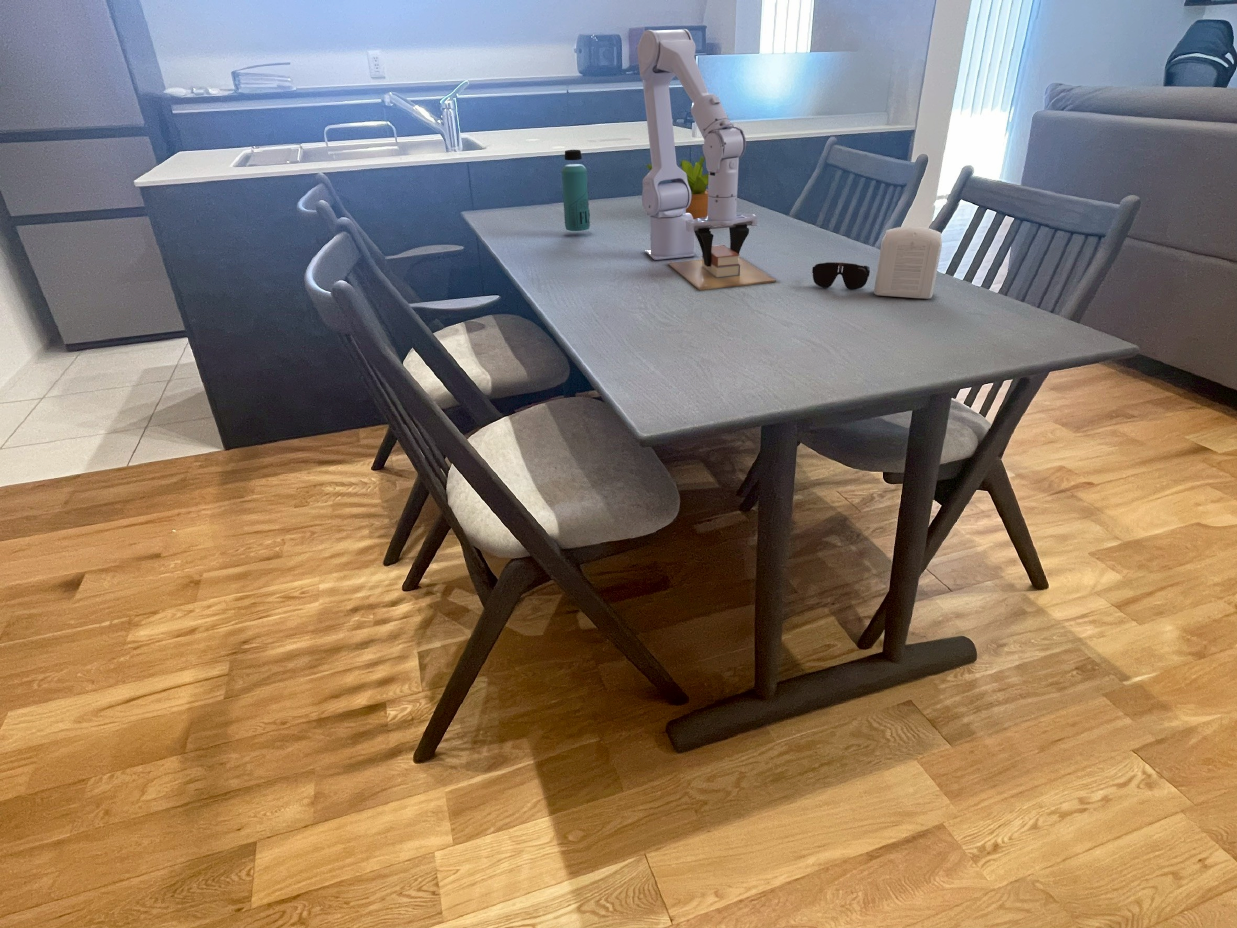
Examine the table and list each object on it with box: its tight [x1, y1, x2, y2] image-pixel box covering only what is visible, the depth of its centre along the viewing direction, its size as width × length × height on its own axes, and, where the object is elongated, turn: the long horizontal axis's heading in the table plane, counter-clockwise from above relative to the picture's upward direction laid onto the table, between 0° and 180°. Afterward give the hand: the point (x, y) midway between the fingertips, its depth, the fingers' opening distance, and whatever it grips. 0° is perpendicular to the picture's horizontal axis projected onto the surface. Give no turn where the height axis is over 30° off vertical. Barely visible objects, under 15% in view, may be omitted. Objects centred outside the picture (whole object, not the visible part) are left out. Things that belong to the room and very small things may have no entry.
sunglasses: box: [811, 261, 871, 291], centre depth 145 cm, size 10×12×5 cm
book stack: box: [701, 244, 741, 278], centre depth 152 cm, size 5×9×4 cm, turn 14°
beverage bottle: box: [560, 149, 591, 232], centre depth 183 cm, size 6×7×20 cm
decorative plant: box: [645, 114, 729, 219], centre depth 199 cm, size 27×24×25 cm
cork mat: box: [668, 256, 777, 291], centre depth 153 cm, size 16×20×1 cm
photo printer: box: [873, 225, 943, 300], centre depth 133 cm, size 10×4×12 cm, turn 72°
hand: (720, 264), depth 153 cm, fingers closed on book stack, 5 cm apart
